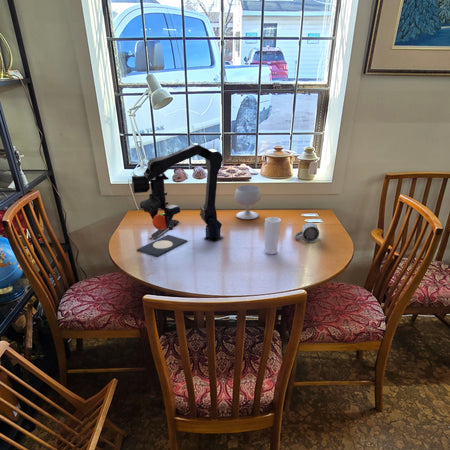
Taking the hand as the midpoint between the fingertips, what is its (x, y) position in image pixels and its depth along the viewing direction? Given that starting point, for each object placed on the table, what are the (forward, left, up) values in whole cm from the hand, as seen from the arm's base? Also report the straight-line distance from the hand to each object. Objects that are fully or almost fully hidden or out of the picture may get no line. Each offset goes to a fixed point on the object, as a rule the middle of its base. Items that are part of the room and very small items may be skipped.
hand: (161, 225), depth 164 cm
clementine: (0, 0, -2) cm, 2 cm away
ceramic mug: (-51, -44, -10) cm, 68 cm away
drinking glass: (-44, -22, -10) cm, 50 cm away
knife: (+12, -14, -10) cm, 21 cm away
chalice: (-11, -55, -10) cm, 57 cm away
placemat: (0, 0, -10) cm, 10 cm away
